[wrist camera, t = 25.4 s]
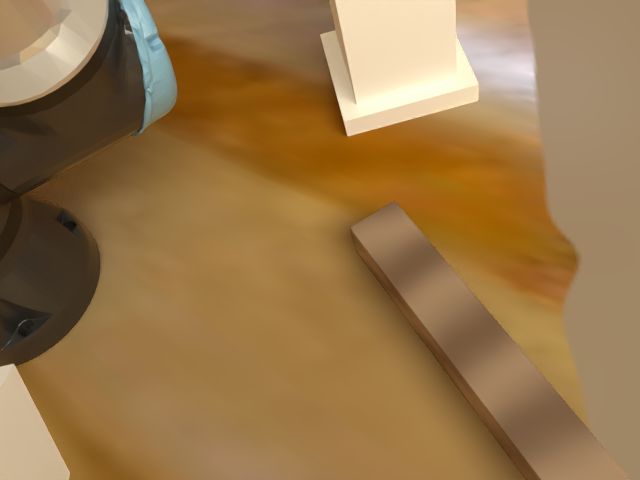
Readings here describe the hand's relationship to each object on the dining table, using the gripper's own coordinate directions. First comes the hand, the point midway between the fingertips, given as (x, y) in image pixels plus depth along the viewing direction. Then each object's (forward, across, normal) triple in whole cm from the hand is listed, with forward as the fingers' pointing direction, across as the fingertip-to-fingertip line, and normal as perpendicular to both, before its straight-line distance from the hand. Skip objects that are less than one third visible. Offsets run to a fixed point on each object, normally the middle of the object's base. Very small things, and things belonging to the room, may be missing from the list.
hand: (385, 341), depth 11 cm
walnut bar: (+24, -9, +22) cm, 33 cm away
